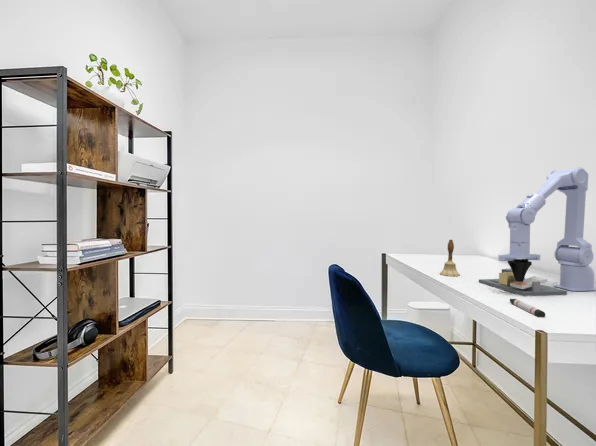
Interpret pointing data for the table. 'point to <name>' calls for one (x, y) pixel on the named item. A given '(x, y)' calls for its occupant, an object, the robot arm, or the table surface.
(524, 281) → the rocker
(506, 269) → the black slider
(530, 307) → the marker
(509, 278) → the brass slider
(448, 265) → the hand bell
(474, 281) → the table surface
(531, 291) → the panel
